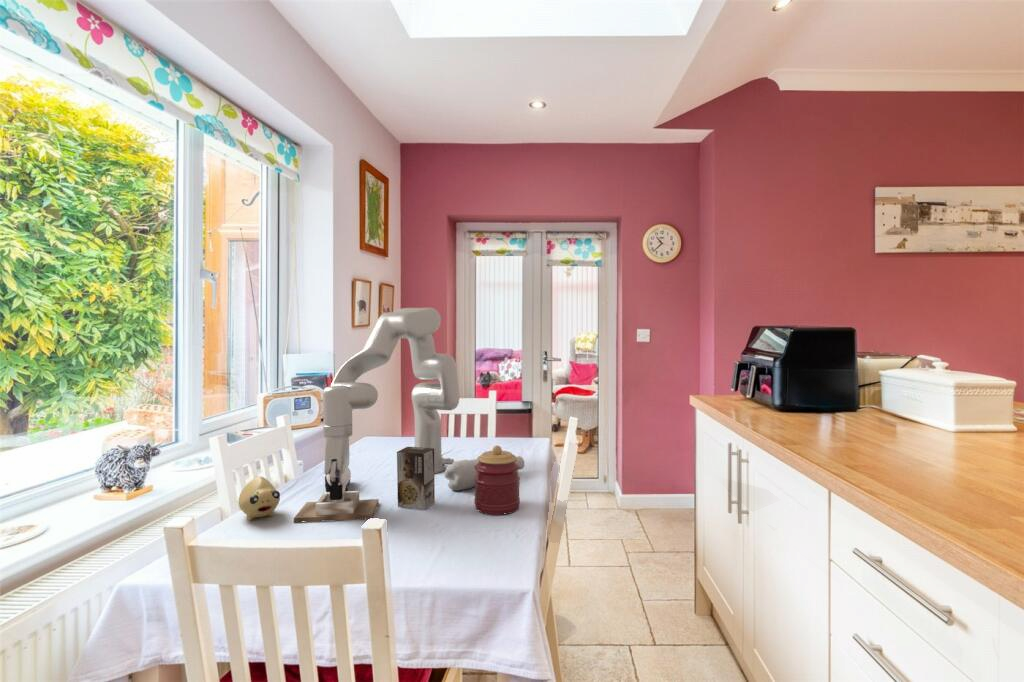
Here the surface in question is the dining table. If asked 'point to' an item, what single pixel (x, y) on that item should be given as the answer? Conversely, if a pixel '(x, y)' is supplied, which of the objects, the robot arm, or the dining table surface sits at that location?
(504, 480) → the canister
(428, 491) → the coffee box
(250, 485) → the golden cartoon creature figurine
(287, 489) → the dining table surface
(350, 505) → the socket board
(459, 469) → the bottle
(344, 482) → the lightbulb
